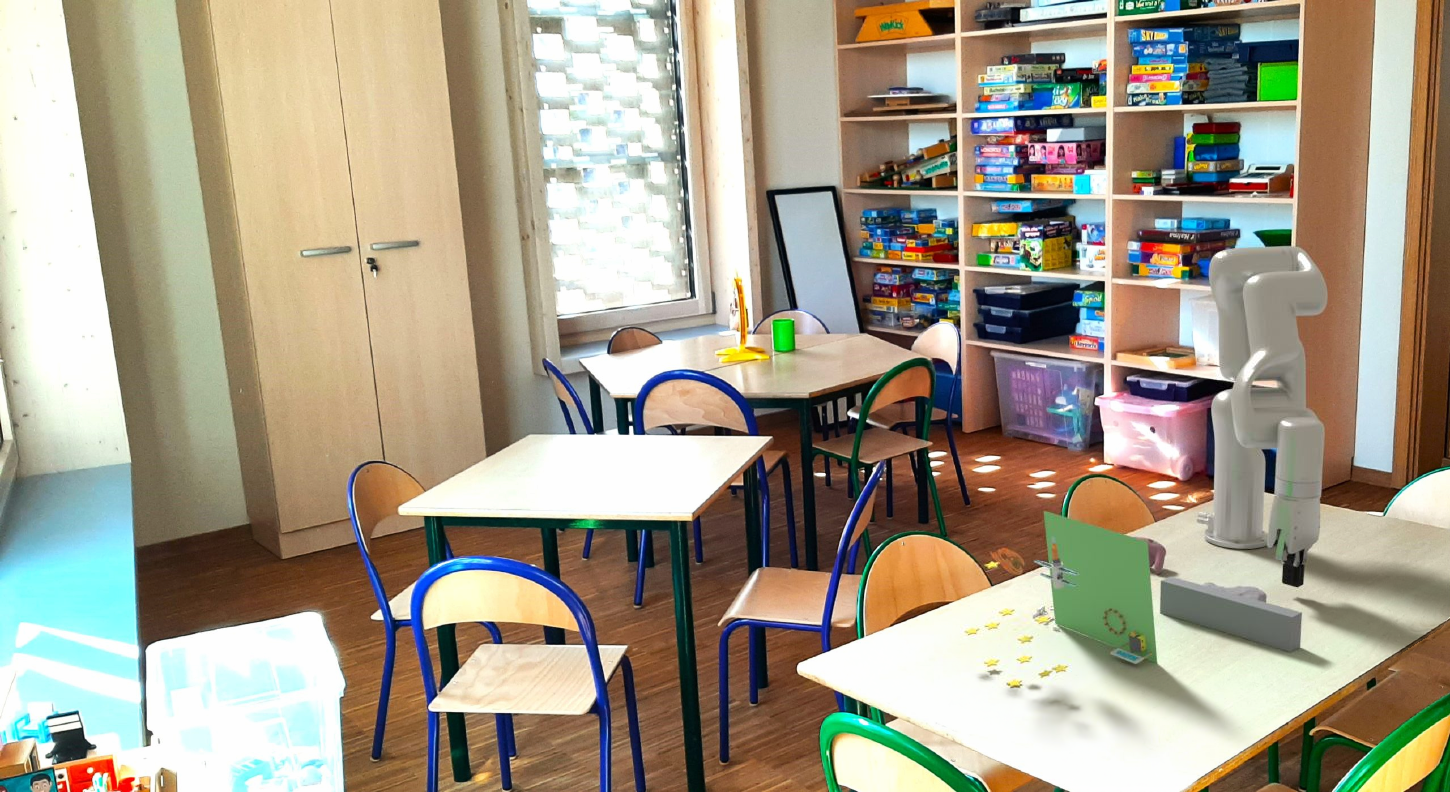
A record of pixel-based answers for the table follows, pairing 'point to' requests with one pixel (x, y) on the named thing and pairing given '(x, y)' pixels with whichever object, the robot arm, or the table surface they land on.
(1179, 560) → the table surface
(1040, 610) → the miniature furniture
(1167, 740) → the table surface
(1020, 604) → the table surface
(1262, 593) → the stone block
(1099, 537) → the toy game set
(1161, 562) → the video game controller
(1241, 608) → the board
